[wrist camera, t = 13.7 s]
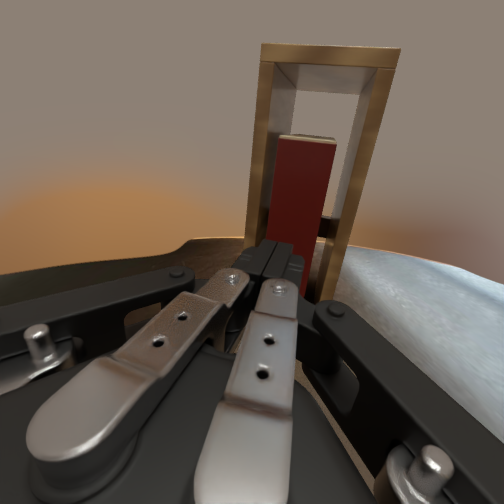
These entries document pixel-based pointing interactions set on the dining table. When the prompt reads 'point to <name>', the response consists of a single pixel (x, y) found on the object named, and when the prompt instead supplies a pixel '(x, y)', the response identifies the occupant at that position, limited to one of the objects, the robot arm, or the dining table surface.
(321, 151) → the hardcover
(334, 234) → the wooden frame
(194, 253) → the dining table surface
